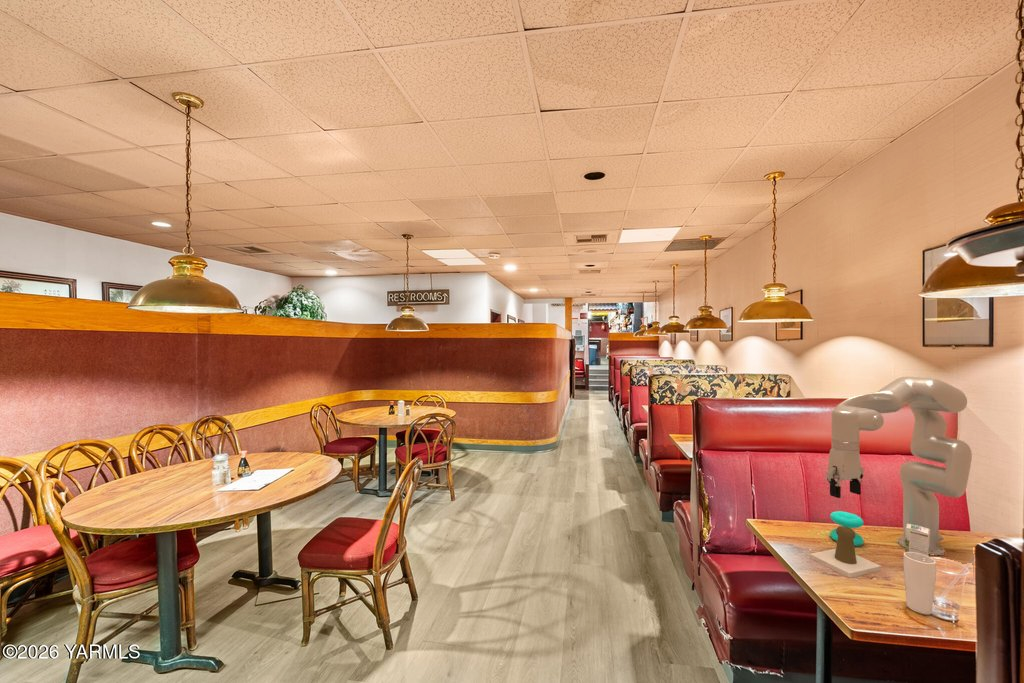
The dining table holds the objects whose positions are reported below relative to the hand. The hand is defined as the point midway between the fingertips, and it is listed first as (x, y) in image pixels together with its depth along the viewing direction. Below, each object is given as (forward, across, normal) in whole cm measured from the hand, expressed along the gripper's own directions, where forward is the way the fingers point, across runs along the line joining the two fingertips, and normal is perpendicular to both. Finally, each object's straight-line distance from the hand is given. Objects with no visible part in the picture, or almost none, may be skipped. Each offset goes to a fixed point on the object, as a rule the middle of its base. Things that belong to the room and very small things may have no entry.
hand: (845, 495), depth 144 cm
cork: (+22, 0, 0) cm, 22 cm away
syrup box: (+24, -18, +10) cm, 32 cm away
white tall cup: (+24, +6, +24) cm, 34 cm away
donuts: (+24, -18, -12) cm, 32 cm away
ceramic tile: (+24, 0, 0) cm, 24 cm away
